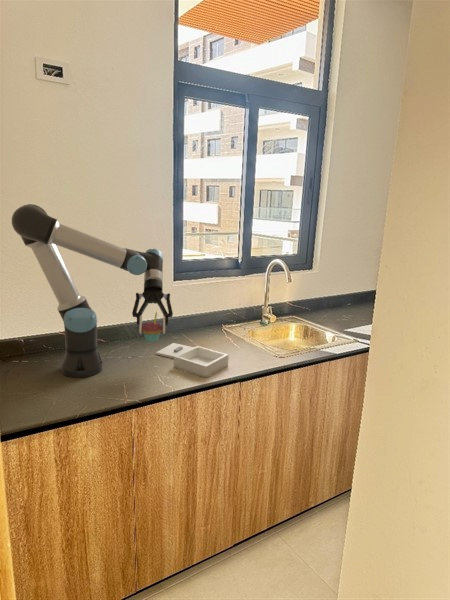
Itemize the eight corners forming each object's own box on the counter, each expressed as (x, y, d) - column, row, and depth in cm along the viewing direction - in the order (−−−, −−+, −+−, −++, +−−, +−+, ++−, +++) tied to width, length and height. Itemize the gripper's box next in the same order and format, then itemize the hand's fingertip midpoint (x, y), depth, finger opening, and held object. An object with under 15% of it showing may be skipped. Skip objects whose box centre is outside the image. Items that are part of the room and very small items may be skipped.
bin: (205, 378, 159) (206, 366, 158) (173, 367, 167) (173, 356, 166) (228, 365, 172) (228, 354, 171) (197, 356, 180) (197, 345, 179)
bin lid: (183, 360, 174) (184, 356, 174) (156, 354, 180) (156, 350, 179) (199, 350, 187) (199, 346, 186) (173, 344, 192) (173, 340, 192)
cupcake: (166, 338, 165) (166, 309, 162) (157, 344, 157) (157, 314, 154) (146, 335, 167) (147, 306, 165) (136, 341, 160) (136, 311, 157)
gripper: (178, 288, 175) (179, 336, 163) (127, 287, 171) (124, 336, 160) (179, 278, 168) (180, 328, 157) (126, 277, 165) (123, 327, 153)
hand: (152, 332), depth 158 cm, fingers closed on cupcake, 8 cm apart
